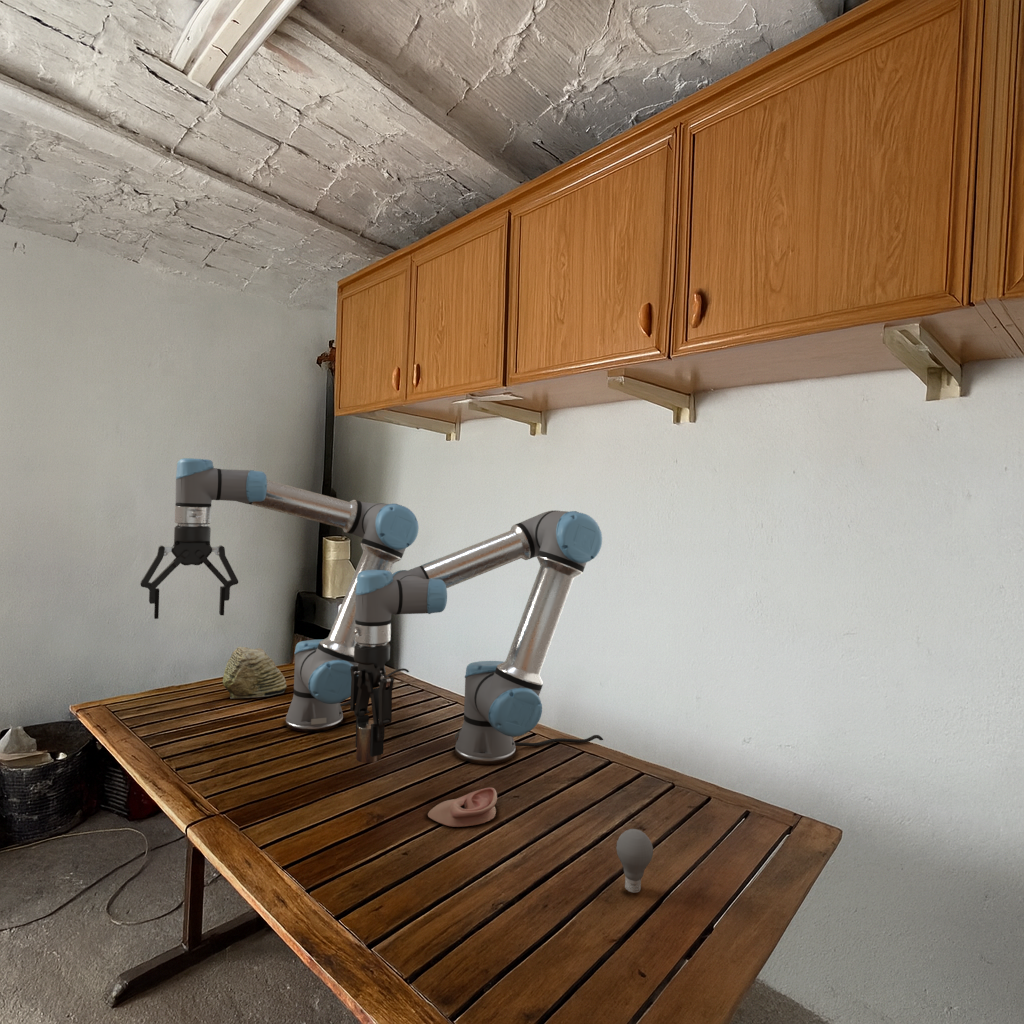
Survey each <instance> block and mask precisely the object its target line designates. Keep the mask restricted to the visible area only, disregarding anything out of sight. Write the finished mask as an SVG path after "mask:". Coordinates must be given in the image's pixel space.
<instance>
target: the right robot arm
mask: <svg viewBox="0 0 1024 1024" xmlns="http://www.w3.org/2000/svg"><path fill="white" fill-rule="evenodd" d="M602 545H603V534H602V530H601V529H600V526H599V524H598V522H597V521H596V519H595V518H593V517H592V516H591V515H589V514H587V513H583V512H580V511H576V510H570V511H567V510H548V511H545V512H542V513H539V514H537V515H534V516H531V517H530V518H527V519H525V520H522V521H521V522H518V523H515V524H513V525H511V527H510V530H508V531H505V532H503V533H500V534H498V535H495V536H493V537H490V538H488V539H485V540H482V541H480V542H477V543H475V544H472V545H469V546H467V547H465V548H462V549H459V550H457V551H454V552H451V553H449V554H447V555H444V556H441V557H439V558H436V559H434V560H431V561H428V562H426V563H423V564H421V565H419V566H416V567H413V568H411V569H407V570H406V569H401V570H396V571H395V572H393V573H392V572H391V571H386V570H365V571H361V572H360V573H359V574H358V576H357V585H356V592H355V594H356V608H355V631H354V633H355V641H356V642H357V643H356V644H355V645H354V661H355V662H357V663H359V664H358V665H355V666H351V668H350V670H351V696H350V697H349V699H350V700H349V701H350V704H349V710H350V711H351V712H353V714H354V716H355V747H354V748H355V749H356V748H357V724H358V723H359V722H362V721H366V720H370V715H368V714H370V711H369V709H368V708H369V704H370V703H371V712H372V720H373V721H374V724H371V747H370V756H371V757H374V756H377V755H381V756H382V755H384V745H385V743H384V742H385V728H386V727H385V726H386V725H389V724H392V719H393V716H392V715H393V686H394V682H395V680H394V676H389V677H388V676H387V675H388V674H387V671H386V666H385V665H386V664H387V663H388V662H389V661H390V659H391V644H390V643H389V642H391V640H392V637H391V635H392V615H395V616H396V615H422V614H428V615H431V614H437V613H438V614H439V613H442V612H444V611H445V609H446V607H447V603H448V588H451V587H453V586H455V585H456V586H457V585H458V584H461V583H464V582H465V581H468V580H471V579H473V578H476V577H478V576H481V575H483V574H485V573H488V572H490V571H493V570H495V569H499V568H501V567H503V566H505V565H509V564H510V563H513V562H516V561H518V560H520V559H521V560H524V561H528V560H530V559H534V558H537V560H538V563H539V569H538V570H537V574H536V577H535V580H534V582H533V584H532V585H533V586H532V588H531V590H530V594H529V596H528V599H527V602H526V604H525V607H524V609H523V613H522V615H521V618H520V621H519V623H518V626H517V629H516V631H515V635H514V637H513V639H512V642H511V645H510V648H509V651H508V653H507V656H506V659H505V660H504V661H503V660H479V661H474V662H470V663H469V664H468V665H466V668H465V675H464V703H463V722H462V725H461V728H460V729H459V730H458V731H457V732H456V733H455V734H454V740H456V741H455V746H454V747H455V748H454V753H455V755H456V756H457V757H458V758H459V759H461V760H463V761H465V762H467V763H472V764H476V765H497V764H498V765H499V764H502V763H506V762H508V761H511V760H512V759H513V758H514V757H515V756H516V747H541V746H545V745H548V744H549V745H550V744H552V743H573V744H585V743H590V742H591V741H593V740H595V739H598V740H599V741H604V738H603V737H602V736H601V735H600V734H594V735H591V736H590V737H587V738H582V739H579V738H578V739H577V738H566V737H565V738H564V737H561V738H560V737H559V738H551V739H547V740H543V741H539V742H523V741H522V742H520V741H519V742H516V741H515V740H514V738H516V737H522V736H524V735H525V734H527V733H529V732H531V731H532V730H533V729H534V728H535V727H536V726H538V723H539V722H540V720H541V717H542V714H543V704H542V700H541V698H540V695H541V692H542V688H543V685H544V681H543V679H542V677H541V672H542V669H543V666H544V663H545V661H546V657H547V655H548V652H549V649H550V646H551V644H552V641H553V639H554V638H553V637H554V635H555V633H556V630H557V627H558V624H559V622H560V620H561V615H562V613H563V610H564V607H565V604H566V602H567V599H568V597H569V593H570V590H571V588H572V585H573V582H574V580H575V578H577V577H579V576H582V575H583V574H584V571H585V568H586V565H587V563H588V562H591V561H592V560H594V559H595V558H596V557H597V556H598V555H599V554H600V552H601V548H602ZM357 675H358V676H357ZM370 694H371V696H370ZM369 702H370V703H369Z"/></svg>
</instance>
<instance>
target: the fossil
mask: <svg viewBox="0 0 1024 1024" xmlns="http://www.w3.org/2000/svg"><path fill="white" fill-rule="evenodd" d="M222 676H223V677H222V685H223V687H224V688H225V690H226V691H228V693H229V698H230V699H250V698H264V697H271V696H275V695H281V694H284V693H285V691H286V689H287V687H288V686H287V680H286V678H285V676H284V674H283V673H282V672H281V669H279V668H278V667H277V665H276V663H275V662H274V660H273V659H272V658H271V657H270V656H269V655H268V654H267V653H266V652H265V650H264V649H263V648H260V647H258V648H251V647H247V646H246V647H245V646H238V647H237V648H236V649H235V650H233V651H232V653H231V656H230V657H229V659H228V660H227V663H226V666H225V668H224V671H223V675H222Z"/></svg>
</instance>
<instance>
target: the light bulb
mask: <svg viewBox="0 0 1024 1024" xmlns="http://www.w3.org/2000/svg"><path fill="white" fill-rule="evenodd" d="M615 849H616V854H617V857H618V859H619V861H620V863H621V865H622V867H623V873H624V874H623V875H624V876H625V878H624V888H625V890H627V891H628V892H630V893H634V894H635V893H639V892H640V891H641V889H642V887H641V886H642V879H643V877H644V875H645V871H646V868H647V867H648V866H649V864H650V863H651V861H652V859H653V855H654V847H653V843H652V841H651V838H649V836H648V835H647V834H646V833H645V832H643V831H642V830H641V829H636V828H629V829H627V830H625V831H623V832H622V833H621V834H620V835H619V837H618V839H617V841H616V847H615Z"/></svg>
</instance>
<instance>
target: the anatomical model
mask: <svg viewBox="0 0 1024 1024" xmlns="http://www.w3.org/2000/svg"><path fill="white" fill-rule="evenodd" d="M497 800H498V793H497V790H496V789H495V788H494V787H485V788H480V789H477V790H473V791H472V792H469V793H467V794H465V795H463V796H460V797H458V798H454V799H447V800H444V801H442V802H440V803H438V804H437V805H435V806H434V807H432V808H431V809H430V810H429V811H428V813H427V816H428V818H429V819H430V820H432V821H435V822H437V823H439V824H441V825H443V826H447V827H450V828H453V827H454V828H460V827H462V828H463V827H471V826H476V825H482V824H485V823H487V822H489V821H491V820H493V819H494V818H495V817H496V814H497V809H496V804H497Z"/></svg>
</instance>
